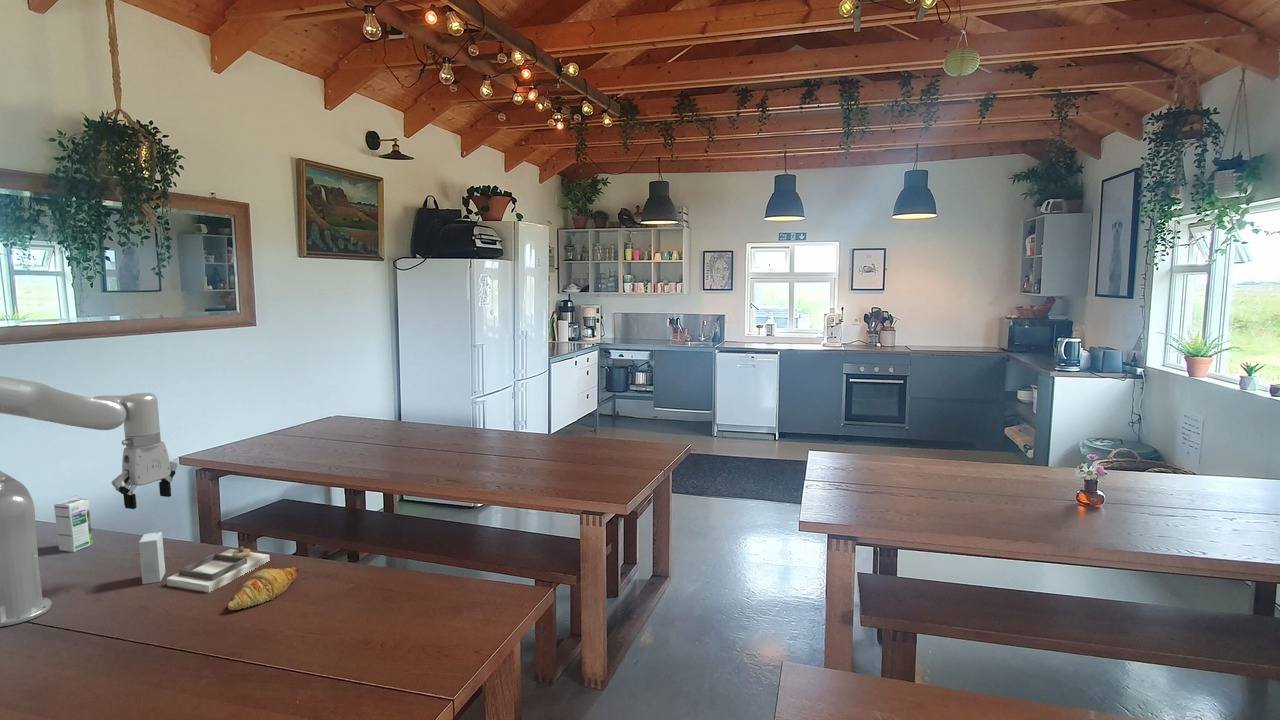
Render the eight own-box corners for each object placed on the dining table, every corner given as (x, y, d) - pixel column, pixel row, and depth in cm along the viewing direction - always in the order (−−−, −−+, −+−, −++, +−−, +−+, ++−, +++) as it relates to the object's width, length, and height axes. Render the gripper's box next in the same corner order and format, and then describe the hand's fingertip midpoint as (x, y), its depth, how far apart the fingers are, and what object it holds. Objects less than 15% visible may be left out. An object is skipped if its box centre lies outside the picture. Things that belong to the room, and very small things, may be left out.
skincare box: (147, 575, 183) (143, 533, 182) (165, 572, 185) (162, 531, 184) (141, 584, 178) (138, 542, 176) (160, 582, 180) (157, 539, 178)
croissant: (239, 629, 164) (249, 604, 162) (209, 605, 166) (219, 581, 164) (305, 589, 184) (314, 566, 182) (278, 568, 186) (287, 546, 184)
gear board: (209, 592, 174) (208, 576, 174) (167, 585, 178) (165, 569, 177) (269, 561, 194) (268, 546, 193) (230, 555, 197) (229, 540, 197)
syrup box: (74, 552, 197) (69, 505, 195) (58, 550, 198) (53, 503, 197) (93, 544, 203) (89, 498, 201) (77, 543, 204) (73, 497, 202)
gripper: (121, 449, 168) (127, 514, 170) (184, 433, 184) (189, 493, 186) (98, 447, 169) (105, 511, 172) (162, 431, 186) (167, 490, 188)
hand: (148, 502), depth 179 cm, fingers open, 9 cm apart
